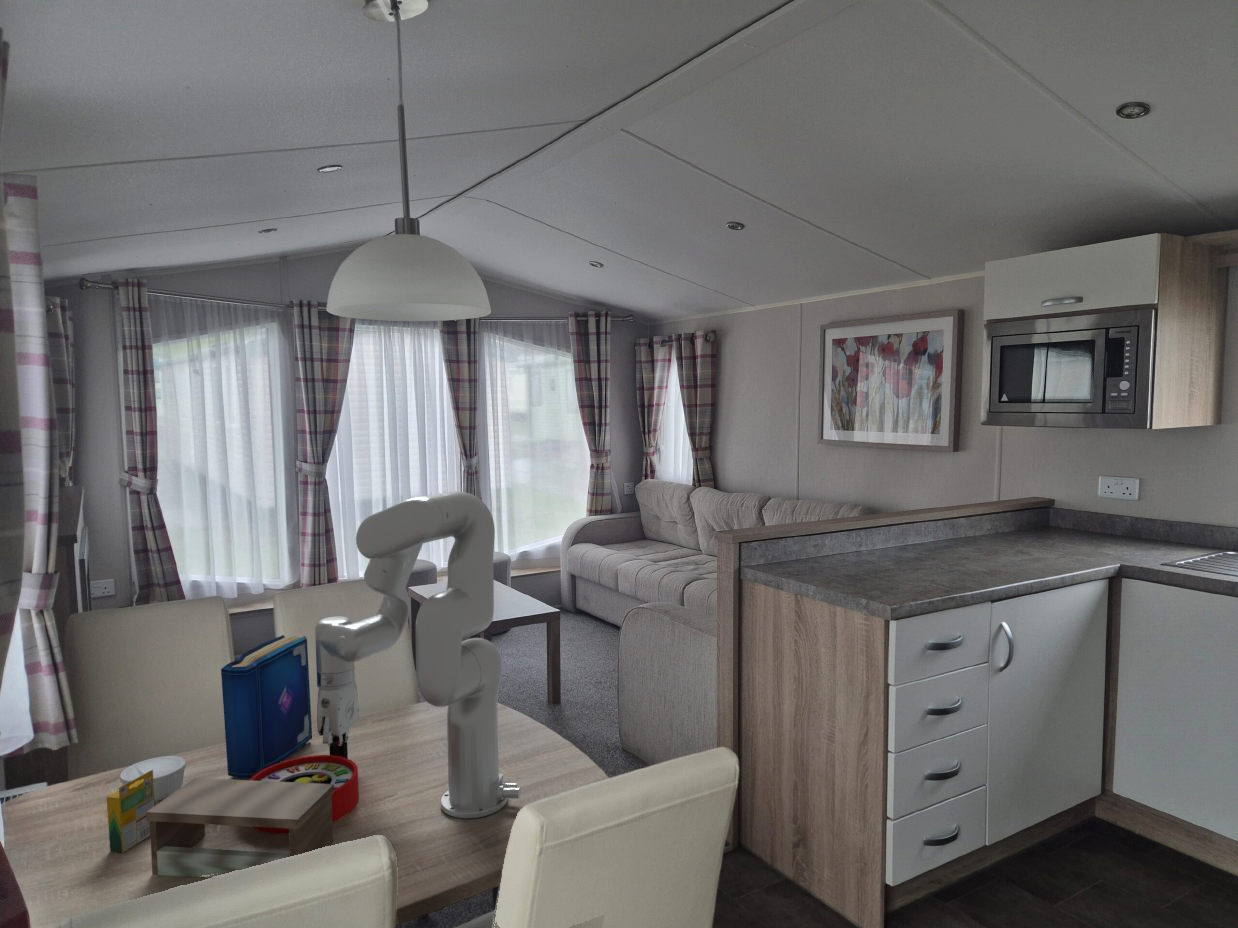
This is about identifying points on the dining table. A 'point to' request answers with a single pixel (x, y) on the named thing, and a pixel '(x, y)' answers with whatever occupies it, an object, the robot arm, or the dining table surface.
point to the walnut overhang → (236, 822)
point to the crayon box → (130, 813)
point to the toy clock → (317, 781)
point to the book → (266, 705)
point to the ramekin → (158, 774)
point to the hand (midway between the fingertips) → (338, 761)
